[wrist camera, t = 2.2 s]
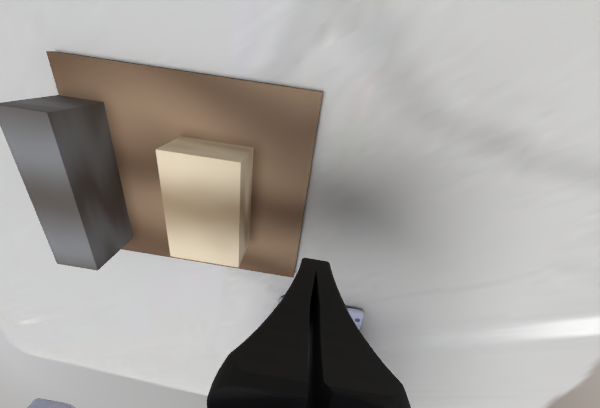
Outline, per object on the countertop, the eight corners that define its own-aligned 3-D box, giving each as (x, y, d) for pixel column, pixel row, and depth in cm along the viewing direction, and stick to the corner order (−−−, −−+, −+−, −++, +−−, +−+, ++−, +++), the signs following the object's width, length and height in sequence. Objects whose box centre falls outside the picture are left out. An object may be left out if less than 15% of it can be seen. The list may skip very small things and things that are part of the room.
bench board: (294, 272, 24) (287, 316, 20) (107, 242, 24) (63, 278, 20) (322, 91, 16) (320, 102, 12) (55, 51, 17) (-31, 49, 13)
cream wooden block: (249, 242, 22) (238, 267, 19) (189, 232, 22) (170, 256, 19) (253, 147, 18) (240, 162, 15) (180, 136, 18) (155, 149, 15)
